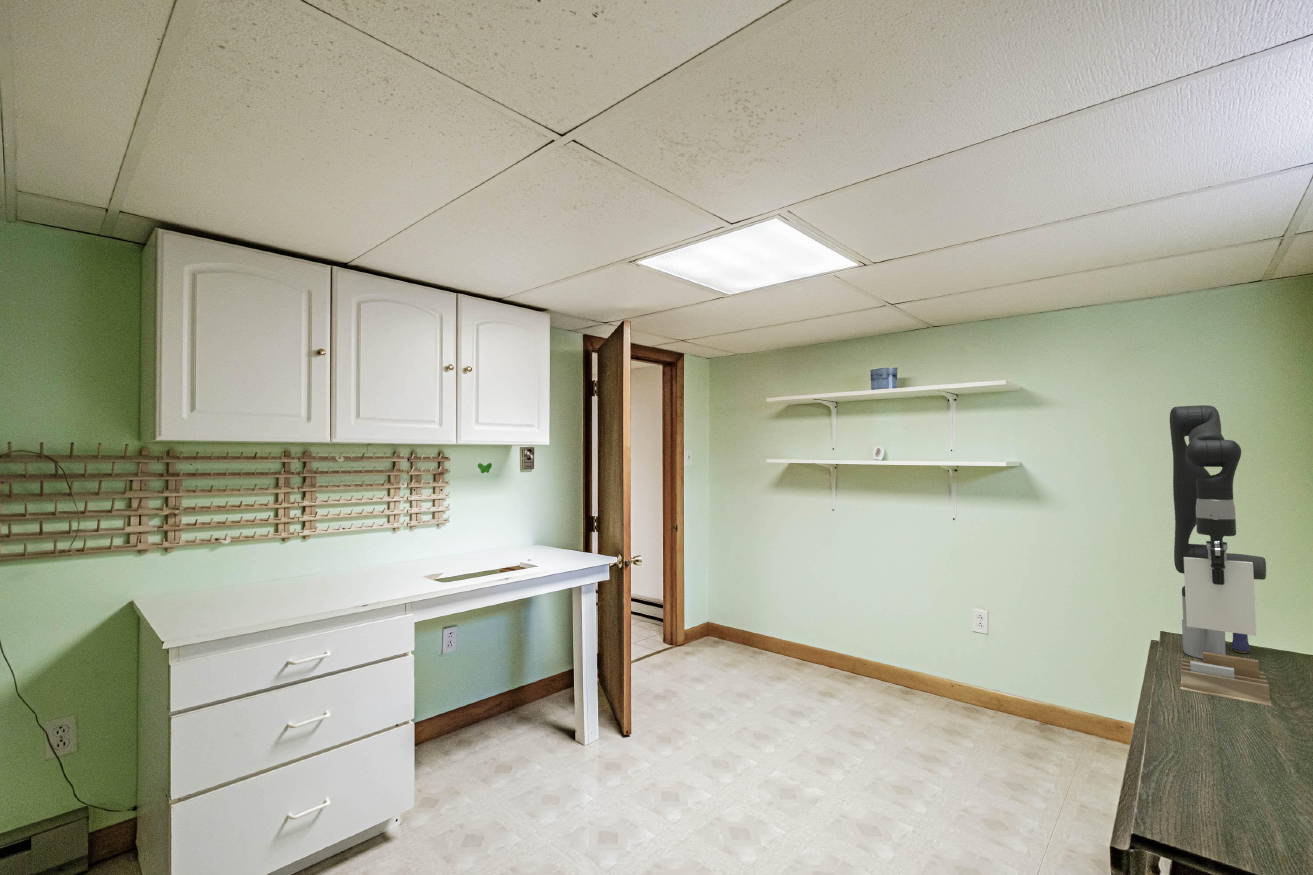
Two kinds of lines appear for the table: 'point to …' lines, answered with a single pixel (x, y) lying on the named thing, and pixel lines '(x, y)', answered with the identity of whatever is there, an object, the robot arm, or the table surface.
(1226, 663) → the offcut oak
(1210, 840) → the table surface
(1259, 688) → the rack
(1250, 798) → the table surface
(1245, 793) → the table surface
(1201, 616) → the sheet
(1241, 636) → the rubber mallet
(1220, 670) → the offcut grey
